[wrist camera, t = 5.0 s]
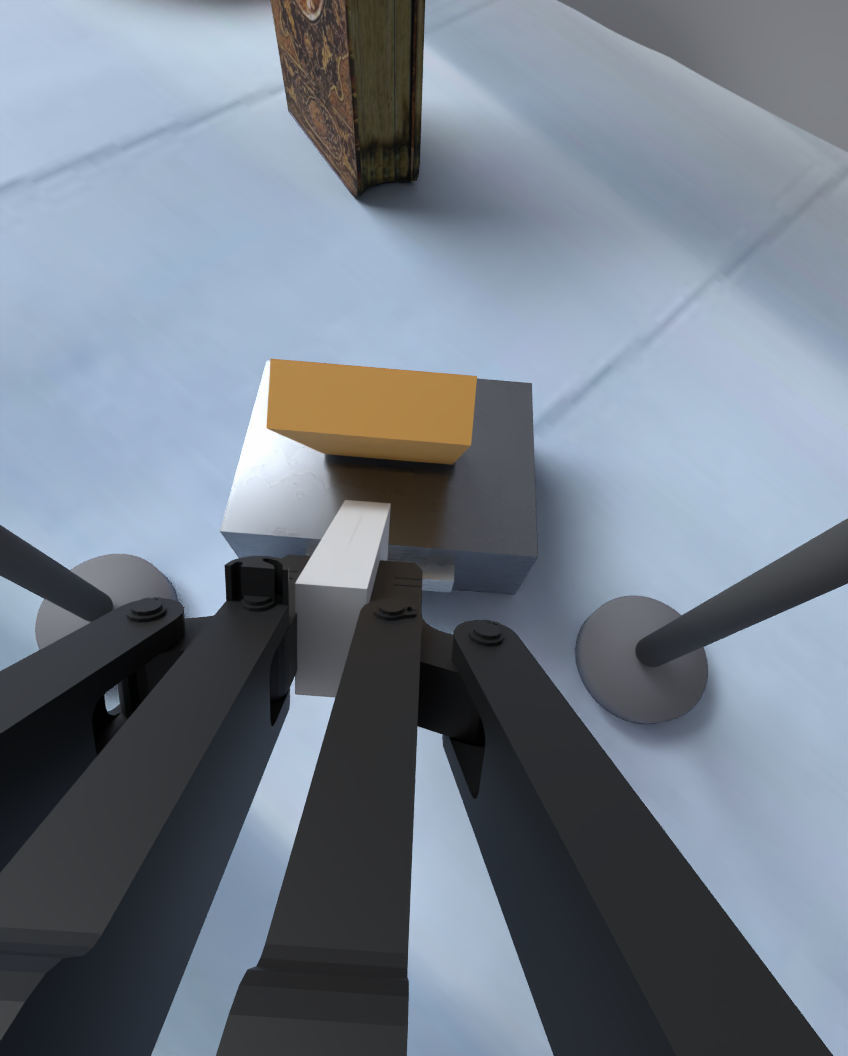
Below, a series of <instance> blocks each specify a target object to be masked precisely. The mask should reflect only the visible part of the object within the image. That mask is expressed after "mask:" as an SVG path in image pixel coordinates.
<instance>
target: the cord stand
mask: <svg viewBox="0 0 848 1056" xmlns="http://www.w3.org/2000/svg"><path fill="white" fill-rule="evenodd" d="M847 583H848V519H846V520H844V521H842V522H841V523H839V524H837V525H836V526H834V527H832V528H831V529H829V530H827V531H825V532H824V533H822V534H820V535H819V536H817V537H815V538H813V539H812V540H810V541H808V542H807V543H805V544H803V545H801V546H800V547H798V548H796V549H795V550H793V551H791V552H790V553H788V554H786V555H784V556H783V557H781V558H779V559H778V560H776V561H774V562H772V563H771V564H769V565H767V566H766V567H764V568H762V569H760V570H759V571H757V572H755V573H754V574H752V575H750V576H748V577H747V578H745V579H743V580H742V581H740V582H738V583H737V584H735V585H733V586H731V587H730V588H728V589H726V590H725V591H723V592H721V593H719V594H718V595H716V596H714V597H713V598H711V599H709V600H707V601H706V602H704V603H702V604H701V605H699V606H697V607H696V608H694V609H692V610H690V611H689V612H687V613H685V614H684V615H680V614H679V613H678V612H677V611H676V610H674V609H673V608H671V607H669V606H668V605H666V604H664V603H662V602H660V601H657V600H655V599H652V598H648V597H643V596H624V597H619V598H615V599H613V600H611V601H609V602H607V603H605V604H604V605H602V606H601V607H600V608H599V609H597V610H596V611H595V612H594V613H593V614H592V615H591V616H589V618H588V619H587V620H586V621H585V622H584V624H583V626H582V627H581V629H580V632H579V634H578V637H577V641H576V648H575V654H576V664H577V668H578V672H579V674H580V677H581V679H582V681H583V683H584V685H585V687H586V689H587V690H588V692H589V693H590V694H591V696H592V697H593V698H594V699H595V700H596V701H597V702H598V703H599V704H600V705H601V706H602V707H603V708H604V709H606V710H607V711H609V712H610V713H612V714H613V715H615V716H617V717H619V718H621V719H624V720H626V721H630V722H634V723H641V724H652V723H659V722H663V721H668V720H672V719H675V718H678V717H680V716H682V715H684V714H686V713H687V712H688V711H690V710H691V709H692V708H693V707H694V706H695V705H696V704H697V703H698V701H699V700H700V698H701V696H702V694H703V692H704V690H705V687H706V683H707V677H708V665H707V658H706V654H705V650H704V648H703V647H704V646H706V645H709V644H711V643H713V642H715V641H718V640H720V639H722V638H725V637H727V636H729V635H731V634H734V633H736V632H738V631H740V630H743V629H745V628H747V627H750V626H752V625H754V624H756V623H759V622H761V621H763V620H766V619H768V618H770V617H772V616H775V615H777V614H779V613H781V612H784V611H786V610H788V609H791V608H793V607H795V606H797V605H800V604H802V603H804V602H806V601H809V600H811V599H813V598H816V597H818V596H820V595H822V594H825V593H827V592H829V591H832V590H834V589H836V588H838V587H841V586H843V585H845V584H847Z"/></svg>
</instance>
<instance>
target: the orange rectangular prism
mask: <svg viewBox="0 0 848 1056" xmlns="http://www.w3.org/2000/svg"><path fill="white" fill-rule="evenodd" d="M476 383H477V376H469V375H457V374H445V373H433V372H421V371H409V370H398V369H386V368H374V367H362V366H350V365H339V364H327V363H315V362H303V361H291V360H279V359H271V360H270V376H269V392H268V408H267V424H266V428H267V429H269V430H271V431H273V432H276V433H278V434H280V435H282V436H285V437H287V438H289V439H291V440H294V441H296V442H298V443H300V444H303V445H305V446H307V447H309V448H312V449H314V450H316V451H318V452H321V453H323V454H329V455H342V456H354V457H366V458H378V459H390V460H402V461H414V462H426V463H438V464H450V465H453V464H454V462H455V461H456V460H457V459H458V458H459V457H460V456H461V455H462V454H463V453H464V452H465V451H466V450H467V449H468V448H469V447H470V446H471V441H472V429H473V417H474V406H475V394H476Z"/></svg>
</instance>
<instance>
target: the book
mask: <svg viewBox="0 0 848 1056" xmlns="http://www.w3.org/2000/svg"><path fill="white" fill-rule="evenodd" d="M271 6H272V12H273V19H274V25H275V31H276V37H277V43H278V49H279V56H280V62H281V68H282V74H283V80H284V86H285V93H286V99H287V105H288V111H289V112H290V114H291V115H292V116H293V118H294V119H295V120H296V122H297V123H298V124H299V126H300V127H301V128H302V130H303V131H304V132H305V134H306V135H307V136H308V138H309V139H310V140H311V142H312V143H313V144H314V146H315V147H316V148H317V149H318V151H319V152H320V153H321V155H322V156H323V157H324V159H325V160H326V161H327V163H328V164H329V165H330V167H331V168H332V169H333V171H334V172H335V173H336V175H337V176H338V177H339V179H340V180H341V181H342V182H343V183H344V185H345V186H346V187H347V188H348V190H349V191H350V192H351V193H352V194H353V196H354V197H357V196H360V195H361V193H362V192H363V191H364V190H365V189H367V188H368V187H370V186H373V185H375V184H379V183H383V182H391V181H408V182H413V181H416V180H417V178H418V174H419V164H420V142H421V111H422V80H423V49H424V18H425V0H271Z"/></svg>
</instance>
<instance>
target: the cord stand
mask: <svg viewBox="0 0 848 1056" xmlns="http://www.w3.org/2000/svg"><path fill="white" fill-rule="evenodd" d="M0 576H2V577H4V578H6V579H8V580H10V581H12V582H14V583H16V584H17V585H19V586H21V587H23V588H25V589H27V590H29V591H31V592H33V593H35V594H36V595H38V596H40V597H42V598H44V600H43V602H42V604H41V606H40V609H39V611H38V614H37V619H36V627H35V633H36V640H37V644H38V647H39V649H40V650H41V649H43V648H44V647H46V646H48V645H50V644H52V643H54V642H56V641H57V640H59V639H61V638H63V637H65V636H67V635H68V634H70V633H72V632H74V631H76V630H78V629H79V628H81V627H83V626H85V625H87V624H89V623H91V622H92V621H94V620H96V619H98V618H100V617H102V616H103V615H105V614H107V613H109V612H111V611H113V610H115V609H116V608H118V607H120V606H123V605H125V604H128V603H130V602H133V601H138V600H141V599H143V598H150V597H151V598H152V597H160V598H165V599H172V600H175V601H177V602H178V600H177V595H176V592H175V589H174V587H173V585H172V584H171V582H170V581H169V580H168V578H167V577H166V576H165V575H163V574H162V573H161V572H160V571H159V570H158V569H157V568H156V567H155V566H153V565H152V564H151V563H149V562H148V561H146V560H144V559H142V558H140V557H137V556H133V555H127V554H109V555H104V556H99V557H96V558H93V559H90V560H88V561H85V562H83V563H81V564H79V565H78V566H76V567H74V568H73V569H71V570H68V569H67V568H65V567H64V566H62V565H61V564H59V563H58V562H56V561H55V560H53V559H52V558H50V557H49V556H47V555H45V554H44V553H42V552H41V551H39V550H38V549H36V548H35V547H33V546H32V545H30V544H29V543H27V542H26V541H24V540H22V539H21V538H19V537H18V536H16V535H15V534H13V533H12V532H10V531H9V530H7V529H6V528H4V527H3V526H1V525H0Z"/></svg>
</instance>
